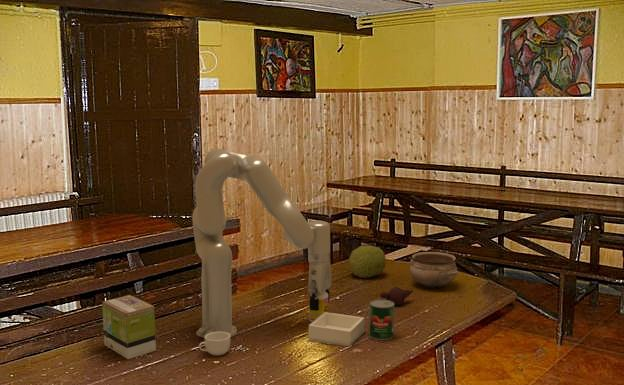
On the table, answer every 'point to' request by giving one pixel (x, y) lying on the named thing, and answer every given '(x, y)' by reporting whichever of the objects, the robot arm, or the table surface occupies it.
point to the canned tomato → (381, 319)
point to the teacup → (216, 343)
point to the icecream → (396, 295)
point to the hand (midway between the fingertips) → (319, 305)
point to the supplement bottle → (322, 306)
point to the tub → (336, 329)
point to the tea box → (129, 326)
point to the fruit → (367, 261)
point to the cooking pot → (433, 268)
